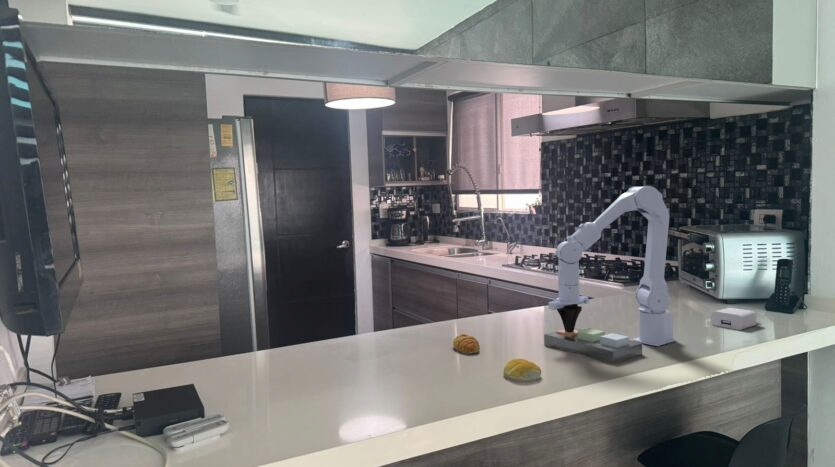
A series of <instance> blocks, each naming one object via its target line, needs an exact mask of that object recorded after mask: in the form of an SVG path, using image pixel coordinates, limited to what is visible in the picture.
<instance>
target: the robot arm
mask: <svg viewBox="0 0 835 467" xmlns="http://www.w3.org/2000/svg"><path fill="white" fill-rule="evenodd" d="M631 211H637V212H639V213H640V214H641V215H642V216H643V217H644V218H645V219H647V222H648V223H647V234H646V244H645V245H646V246H645V247H646V248H645V258H644V268H643V276H642V277H641V278H640V280H639V286H638V287H637V289H636V291H635V295H634V296H635V299H636V302H637V303H638V304H639V306H638V337H635V338H632V339H631V341H635V342H639V343H642V344H645V345H650V346H653V347H654V346H655V347H659V346H662V345H666V344H670V343H672V342H675V341H677V339H676V338H674V317H673V314H672V313H671V311H670V310H668V308H669V306H670V304H671V297H670V295H669V292H668V290H669V289H668V288H669V286H668V284H667V281H666V280H665V269H666V261H667V258H666V257H667V250H668V249H667V247H668V238H669V237H668V236H669V227H670V226H669V224H670V212H669V210H668V208H667V205H666V204H665V202H664V198H663V194H662V193H661V192H660V191H659V190H658V189H657V188H656V187H654V186H652V185H645V186H637V185H636V186H631V187H630V188H628V190H627V191H626V192H624V193H622V194H620V195H619V196H618V197H617V199H615V200H614V201H613V202H612V203H611V204H610V205H609V206H608V207H607V208H606V209H605V210H604V211H603V212H602V213H601V214H600V215H599V216H598V217H597V218H596V219H595V220H593V221H592V222H590V221H588V222H587V221H586V222H584V223H580V225H578V229H577V230H576V231H575V232H573V234H571V235H568V236H566V238H565V239H566V240H565V241H562V242H560V243H559V244H558V245H557V247H556V250H555V255H556V257H557V258H558V267H557V272H558V274H557V276H558V277H557V280H558V281H557V282H558V283H557V284H558V287H557V288H558V289H557V290H558V297H556V299H554V300H552V301H549V302H548V309H549V310H552V311H557V312H558V315H559V316H560V318H561V321H562V324H563V328H564V329H565V331H566V332H574V328H576V324H577V320H578V318H579V316H580V314H581V312H582V309H583V307H582V306H580V305H583V304H589V303H590V302H589V296H586V295H580V267H579V266H580V265H579V264H580V263H579V261H580V260H581V259H582V257H583V253H585V252H586V251H587V250H588V249H589V248H590V247H591V246H593V245H594V244H595V243H596V242H597V241H598V240H599V239H601V237H602V231H603V230H604V229H605V228H606V227H608V226H609V225H610V224H611V223H613V222H614V221H616V220H617V219H618V218H619V217H620V216H621V215H623V214H625V213H626V212H627V213H628V212H631ZM564 329H563V330H564Z"/></svg>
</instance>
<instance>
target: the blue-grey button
mask: <svg viewBox="0 0 835 467" xmlns="http://www.w3.org/2000/svg"><path fill="white" fill-rule="evenodd" d="M629 338H630V337H629V336H627V335H623V334H617V333H613V332H611V333H608V334H605V335H604V336H600V344H602V345H606V346H610V347H614V348H620V347H623V346H627V345H629V340H630V339H629Z"/></svg>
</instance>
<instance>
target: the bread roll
mask: <svg viewBox="0 0 835 467" xmlns="http://www.w3.org/2000/svg"><path fill="white" fill-rule="evenodd" d="M541 375H542V369H541V367H540V366H539V365H537V364H536V363H534V362H532V361H529V360H528V359H525V358H514V359H513V358H512V359H511V360H509V361H507V362H506V363H505V365H504V367H503V376H504V377H505V378H507V379H510V380H511V381H514V382H521V383H523V382H524V383H527V382H534V381H537V380H539V379H540V377H541Z"/></svg>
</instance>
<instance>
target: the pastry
mask: <svg viewBox="0 0 835 467" xmlns="http://www.w3.org/2000/svg"><path fill="white" fill-rule="evenodd" d="M452 345H453V349H455V351H457V352H460V353H462V354H468V355H469V354H475V353H479V351H480V350H481V347H480V343H479V341H478V340H477V339H476V338H475V336H472V335H469V334H465V333H464V334H463V333H462V334H460V335H457V336H456V337H455V338H454V339H453V342H452Z"/></svg>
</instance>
